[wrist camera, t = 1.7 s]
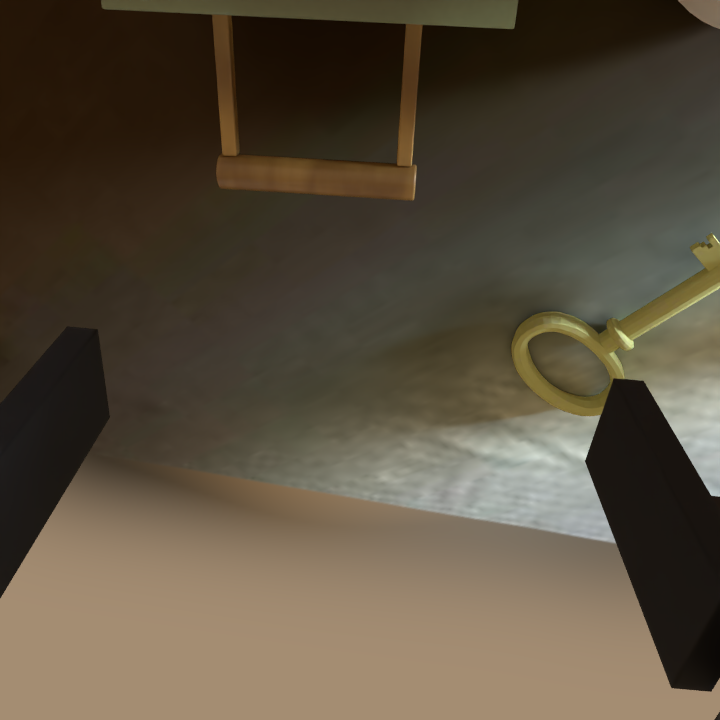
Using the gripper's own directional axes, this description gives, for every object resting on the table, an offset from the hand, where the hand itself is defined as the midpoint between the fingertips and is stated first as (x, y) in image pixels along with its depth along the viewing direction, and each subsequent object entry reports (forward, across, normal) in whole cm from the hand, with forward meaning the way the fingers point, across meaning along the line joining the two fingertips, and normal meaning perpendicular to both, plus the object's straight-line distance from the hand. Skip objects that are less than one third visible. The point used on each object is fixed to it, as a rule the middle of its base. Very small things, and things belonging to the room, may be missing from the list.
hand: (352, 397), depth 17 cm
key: (+18, +14, -6) cm, 24 cm away
